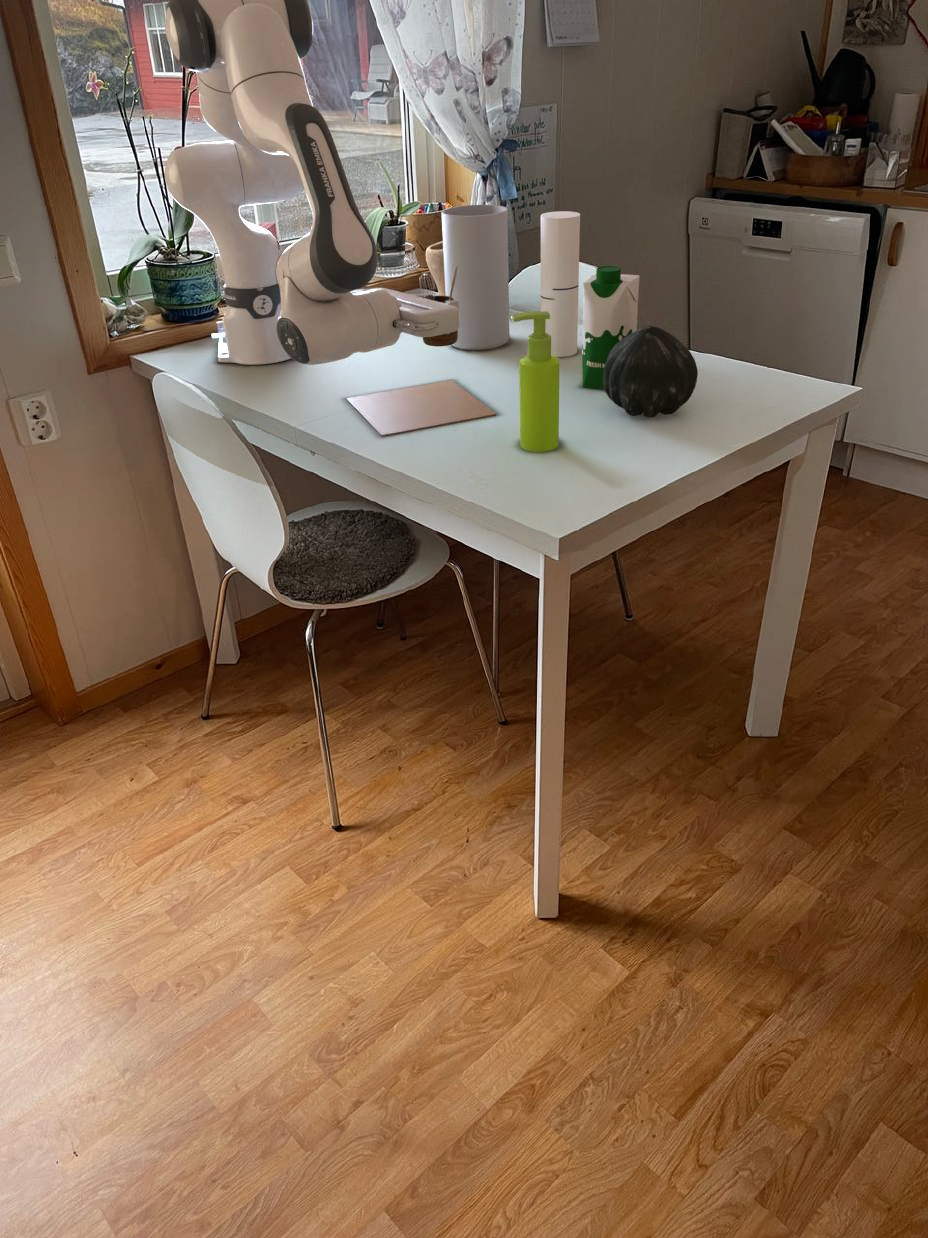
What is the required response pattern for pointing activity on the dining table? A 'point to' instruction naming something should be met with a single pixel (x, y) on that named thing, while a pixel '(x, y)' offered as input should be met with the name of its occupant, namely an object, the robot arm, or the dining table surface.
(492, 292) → the cylinder vase
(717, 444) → the dining table surface
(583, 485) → the dining table surface
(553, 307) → the cylindrical container
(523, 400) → the soap dispenser
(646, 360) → the squash
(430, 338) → the utensil holder
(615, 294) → the milk carton
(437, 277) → the stone cup
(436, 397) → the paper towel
